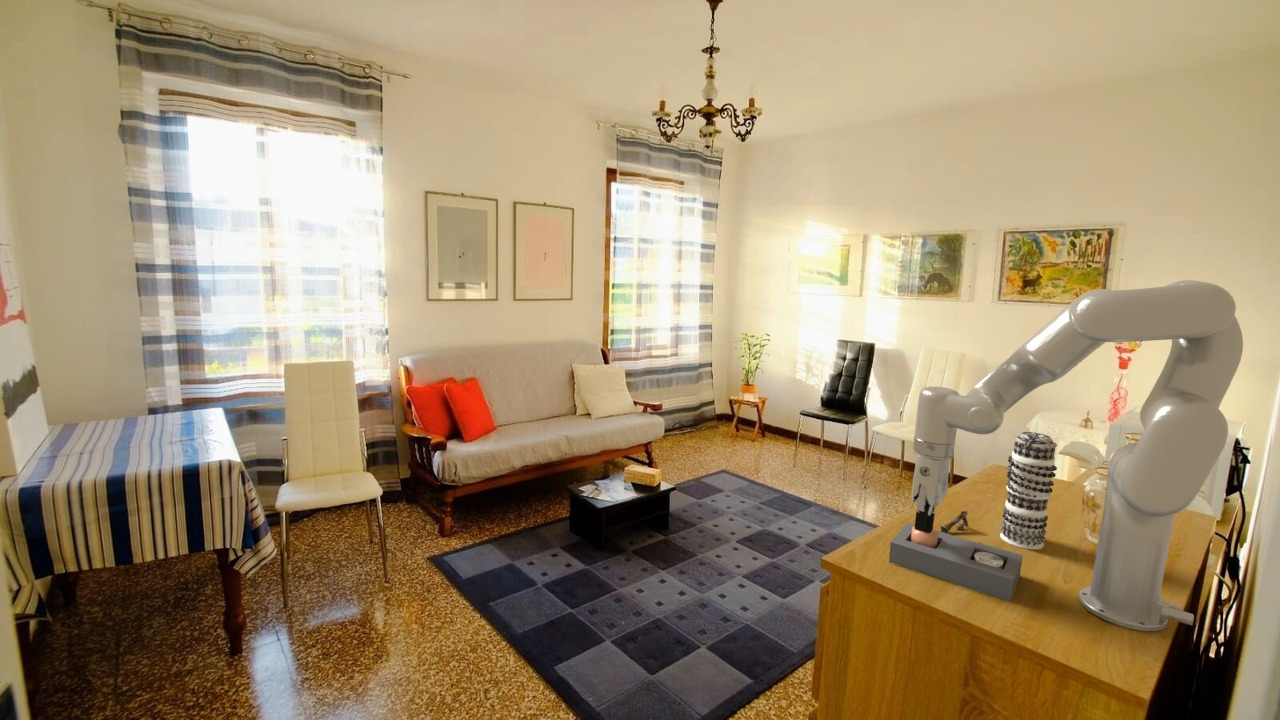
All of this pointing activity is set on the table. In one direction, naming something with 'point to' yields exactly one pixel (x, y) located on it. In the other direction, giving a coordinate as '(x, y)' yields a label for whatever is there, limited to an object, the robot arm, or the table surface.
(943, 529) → the wooden post with brackets
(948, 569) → the button housing
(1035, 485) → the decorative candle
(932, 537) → the terracotta plunger
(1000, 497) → the table surface
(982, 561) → the cream short cylinder
